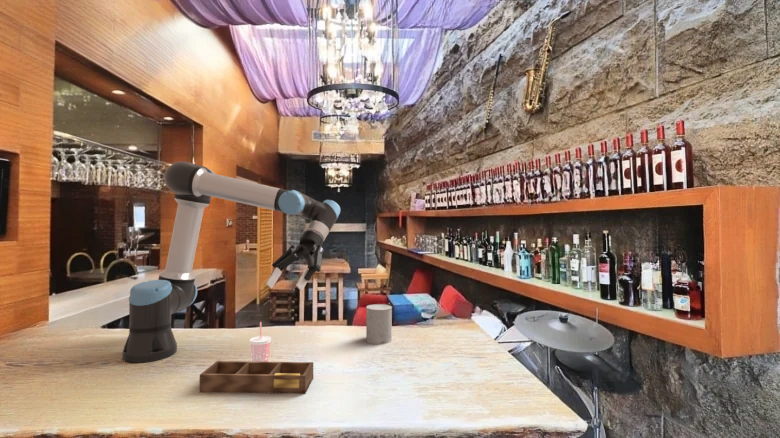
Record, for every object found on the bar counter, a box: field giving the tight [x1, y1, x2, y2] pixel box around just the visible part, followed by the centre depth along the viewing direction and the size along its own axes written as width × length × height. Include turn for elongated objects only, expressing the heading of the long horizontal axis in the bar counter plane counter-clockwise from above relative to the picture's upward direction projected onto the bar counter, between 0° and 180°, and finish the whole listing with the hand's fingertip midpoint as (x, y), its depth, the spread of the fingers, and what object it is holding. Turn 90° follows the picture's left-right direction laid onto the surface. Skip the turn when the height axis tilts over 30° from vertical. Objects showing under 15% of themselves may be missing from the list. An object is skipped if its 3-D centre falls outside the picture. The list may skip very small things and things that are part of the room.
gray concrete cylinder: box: [365, 303, 393, 345], centre depth 143 cm, size 10×10×12 cm
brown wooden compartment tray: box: [199, 360, 314, 395], centre depth 103 cm, size 27×10×5 cm, turn 89°
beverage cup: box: [249, 321, 272, 362], centre depth 114 cm, size 6×6×14 cm
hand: (283, 287), depth 122 cm, fingers open, 13 cm apart
